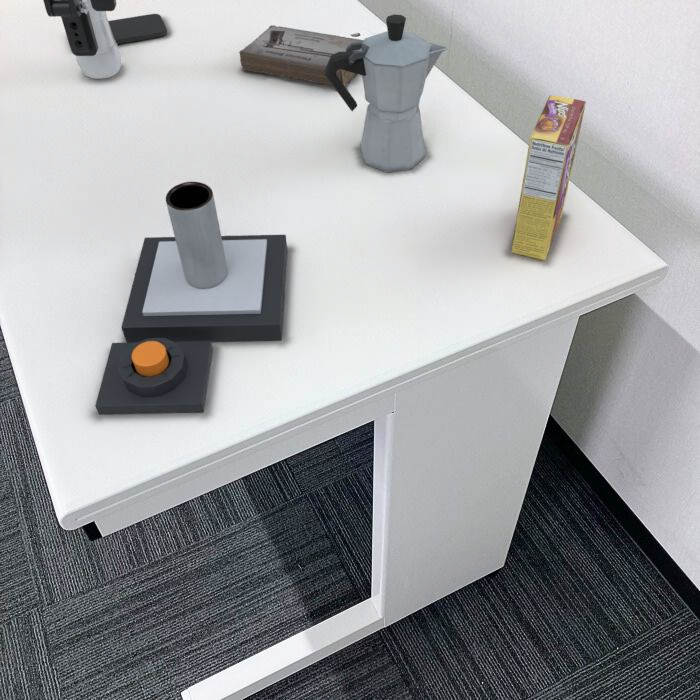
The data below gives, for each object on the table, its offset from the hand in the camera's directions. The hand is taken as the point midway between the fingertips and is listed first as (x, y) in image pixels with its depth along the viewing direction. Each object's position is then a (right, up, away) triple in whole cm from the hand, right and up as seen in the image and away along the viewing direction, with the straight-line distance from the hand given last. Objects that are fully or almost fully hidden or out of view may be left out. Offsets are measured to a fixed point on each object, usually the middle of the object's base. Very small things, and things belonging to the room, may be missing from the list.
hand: (96, 30), depth 68 cm
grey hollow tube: (+8, -21, +11) cm, 25 cm away
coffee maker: (+28, -3, +30) cm, 41 cm away
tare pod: (+4, -32, +5) cm, 33 cm away
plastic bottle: (-15, +13, +46) cm, 50 cm away
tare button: (+4, -31, +3) cm, 31 cm away
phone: (-15, +22, +54) cm, 60 cm away
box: (+17, +14, +46) cm, 51 cm away
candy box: (+45, -16, +19) cm, 51 cm away
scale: (+8, -23, +13) cm, 28 cm away
